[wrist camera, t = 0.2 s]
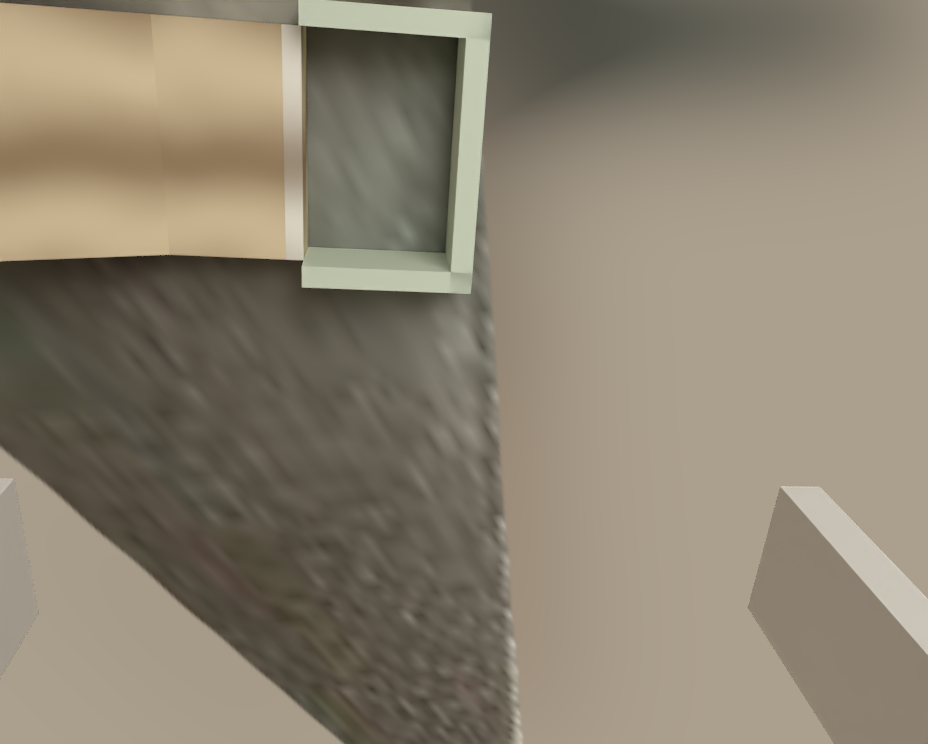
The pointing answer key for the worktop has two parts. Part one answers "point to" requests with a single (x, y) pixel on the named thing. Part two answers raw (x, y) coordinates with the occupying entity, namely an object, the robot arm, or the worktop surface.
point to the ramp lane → (151, 136)
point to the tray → (469, 108)
